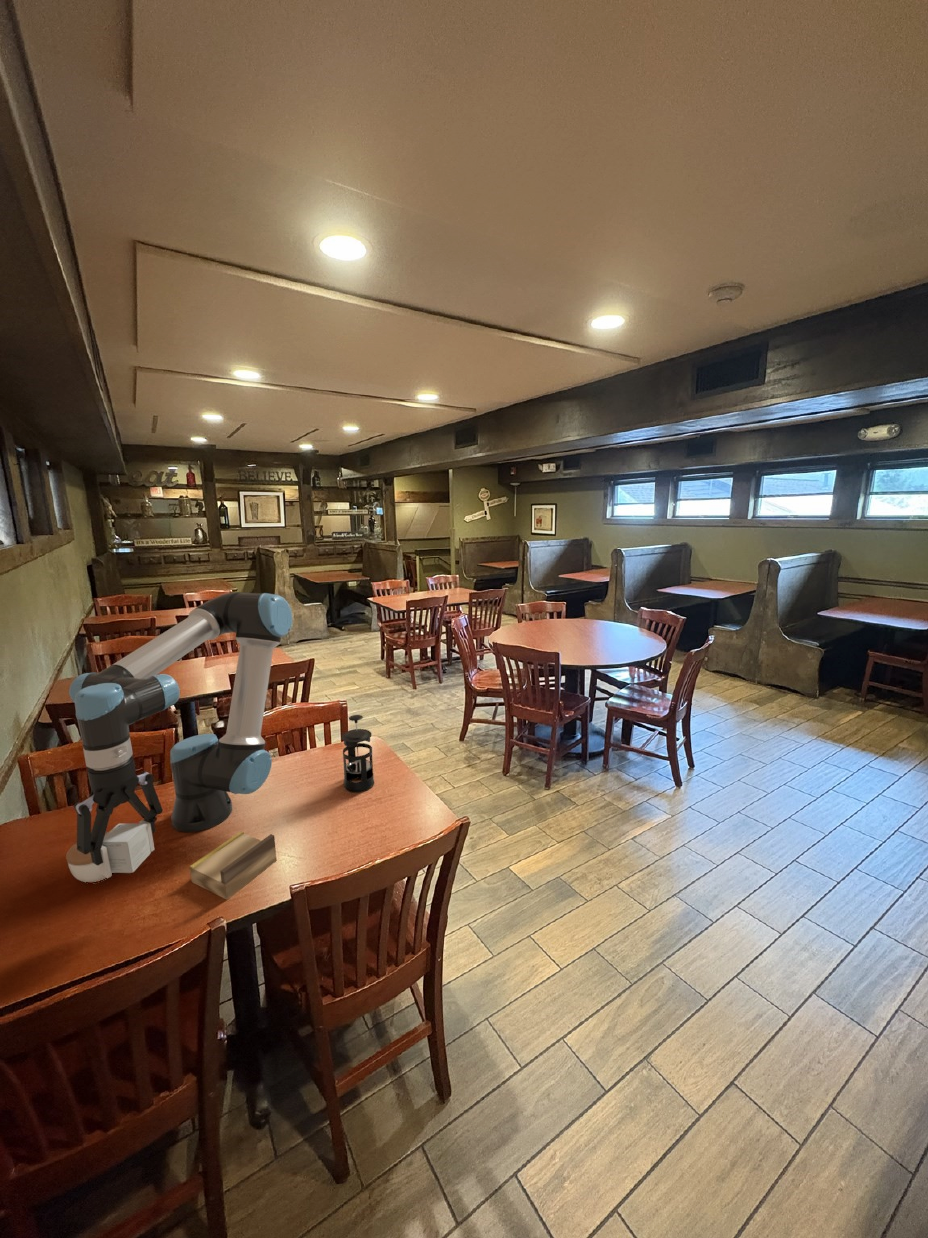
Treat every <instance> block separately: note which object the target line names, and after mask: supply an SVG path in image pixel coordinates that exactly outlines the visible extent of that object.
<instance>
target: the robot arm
mask: <svg viewBox="0 0 928 1238" xmlns="http://www.w3.org/2000/svg"><path fill="white" fill-rule="evenodd" d="M292 627H293V612H292V609H291V606H290V605H289V602H288V601H287V600H286V599H285V597H283V596H281V595H278V594H273V593H267V592H263V593H262V592H260V593H259V592H240V591H235V592H228V593H224V594H221V595H218V596H216V597H214V598H212V599H210V600H208V601H205V602H203V603H202V604H200V605H198V606H197V607H195V608H193V609H191V610H190V612H189V613H188V616H187V618H185V619H183V620H182V621H180V622H178V623H177V624H175V625H173V626H172V627H171V628H169V629H168V630H165V631H164V632H163V633H161V634H159V635H157V636H156V637H154V638H152V640H150V641H148V642H146V643H145V644H143V645H142V646H140V647H138V648H137V649H135V650H134V651H132V652H130V653H128V654H127V655H126V656H124V657H122V658H121V659H119V660H118V661H116V662H115V663H114V662H113V664H111V665H110V666H107V667H106V668H104V669H103V670H100V672H86V673H82V674H79V675H77V677H75V678H74V679H73V680H72V682H71V683H70V685H69V689H68V693H69V694H68V695H69V697H70V700H71V701H72V702H73V703H74V707H75V708H74V709H75V717H76V719H77V724H78V725H77V726H78V729H79V734H80V739H81V744H82V749H83V755H84V760H85V766H86V768H87V772H86V773H87V777H88V780H89V781H88V782H89V787H90V788H91V789H90V790H91V791H90V795H89V797H88V798H87V799H85V800H83V801H82V802H80V801H79V802H78V801H77V802H75V803H74V804H73V809H74V810H75V813H76V843H77V850H78V851H80V852H82V853H83V854H88V853H89V852H90V854H91V859H92V862H93V863H94V864H96V865H97V866H99V871H100V874H101V875H103V876H105V877H106V878H107V879H109V878H111V877H112V876H113V875H111V869H110V864H109V859H108V853H107V848H106V847H105V846H103V845H102V844H103V840H104V836H105V832H107V829H108V825H109V821H110V817H111V815H112V814H113V811H114V809H115V808H117V807H118V806H120V805H121V804H125V803H127V802H128V803H129V804H130V805H131V807H132V808H133V809H134V810H135V812H137V814H138V815H140V817H141V818H142V819H141V820H140V821H139V820H138V824H146V825H147V831H148V838H149V844H150V851H151V853H152V852H154V851H155V844H154V838H153V834H155V833H156V826H155V822H157V820H158V818H157V816H158V815H161V814H162V813H163V811H164V810H163V807H162V804H161V801H160V800H159V797H158V793H157V791H156V789H155V786H154V775H153V774H152V773H149V772H147V771H142V772H141V773H140V774H138V775H137V774H136V773H137V772H136V766H135V764H136V763H135V759H134V756H133V747H132V742H131V734H130V728H129V727H130V725H132V724H134V723H137V722H139V721H141V720H143V719H145V718H148V717H151V716H152V715H155V714H157V713H159V712H163V711H165V710H166V709H167V708H170V707H171V706H174V705H175V704H176V703H177V702H178V701H179V699H180V696H181V692H180V687H179V684H178V682H177V680H175V678H174V677H173V676H171V675H169V674H166V673H161V672H163V671H165V670H166V669H167V668H169V667H170V666H172V665H173V664H174V663H176V662H177V661H178V660H181V658H183V657H184V656H185V655H187V654H189V653H190V652H192V651H193V650H195V648H197V647H199V646H200V645H201V644H203V643H204V642H206V641H207V640H208V641H209V640H210V641H212V640H215V639H217V638H218V637H220V636H221V635H224V634H232V633H235V638H234V639H235V640H236V642H237V643H238V644H239V645H240V646H239V651H238V657H237V664H236V669H235V676H234V677H235V678H234V682H233V689H232V696H231V701H230V708H229V715H228V721H227V727H226V733H225V734H224V735H223V736H222V737H220V738H219V739H218V737H217V735H216V734H214V733H203V734H198V735H193V736H190V737H187V738H185V739H183V740H181V741H178V742H177V743H175V744H174V745H173V746H172V747H171V749H170V751H169V753H170V755H169V756H170V761H169V763H170V767H171V774H172V780H173V787H174V794H175V799H174V804H173V809H172V812H171V817H170V818H171V819H170V820H171V825H172V827H173V829H174V830H177V831H178V832H182V833H194V832H195V833H196V832H201V831H205V830H208V829H211V828H213V827H216V826H218V825H219V824H220V823H222V822H224V821H225V820H226V819H228V817H229V816H230V815H231V814H232V811H233V803H232V799H231V797H230V796H229V794H228V793H231V794H234V795H239V794H240V795H250V794H253V793H255V792H256V791H258V790H259V789H260V788H261V787H262V786H263V785H264V784H265V782H266V780H267V779H268V777H269V775H270V772H271V768H272V764H273V760H272V759H273V758H272V757H271V753H270V752H269V751H267V750H265V747H266V741H265V740H264V738H263V737H262V735H261V734H262V729H263V728H262V727H263V722H264V721H263V720H264V715H265V706H266V699H267V696H268V695H267V694H268V687H269V681H270V674H271V668H272V659H273V653H274V649H275V648H276V647H277V646H279V645H280V644H281V640H282V639H281V638H282V637H285V636H287V634H289V631H291V629H292ZM160 673H161V674H160ZM138 784H139V785H140V786H141V790H142V792H143V795H144V798H145V799H146V802H147V805H148V807H147V805H145V803H143V801H141V799H140V797H139V796H138V795H137V793H136V792H135V790H136V788H137V786H138ZM93 804H97V805H96V809H95V812H96V814H95V818H94V821H93V825H92V813H91V812H92V811H93Z"/></svg>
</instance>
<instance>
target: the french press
mask: <svg viewBox="0 0 928 1238" xmlns="http://www.w3.org/2000/svg"><path fill="white" fill-rule="evenodd" d="M363 718H364V717H363V716H362V714H354V715H351V716H349V717H348V720H349V721H351V722H354V724H355V729H350V730H347V731H345V732H344V733H343V734H342V735H341V738H342V739H341V740H343V744H344V748H343V750H342V758H343V759H342V760H343V762H342V763H343V775H344V777H343V778H344V784H343V788H344V790H346V791H348V792H350V793H353V794H354V793H355V794H357V793H364V792H367V791H369V790H371V789H372V788H373V787H374V786H375V779H374V765H373V764H374V763H373V747H372V746H371V745H370V744H368V743H370V742H371V737H372V735H373V734H372V732H371V731H370V730H368V729H364V728H358V722H359V721H360V720H362V719H363ZM364 742H368V743H364ZM359 748H366V749H368V751H369V752H367V753H365V754H363V755H359ZM346 752H347V754H346ZM356 752H357V754H356ZM368 758H369V760H368ZM347 760H348V762H347ZM357 779H361V781H355V782H354V781H353V780H357Z"/></svg>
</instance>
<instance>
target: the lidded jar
mask: <svg viewBox="0 0 928 1238" xmlns="http://www.w3.org/2000/svg"><path fill="white" fill-rule="evenodd" d="M109 832H110V831H106V832H105V835H107V834H108V833H109ZM65 859H66V861H67V862H66V863H67V864H68V868H69V872H70V873H71V875H72V876H73V877H74V878H75V879H76V880H78V881H81V882H84V883H86V882H96V881H100V880H103V879H105V878H106V877H105V876H103V875H101V874H100V871H99V866H97V865H96V864H94V863H93V862H92V859H91V854H90V852H89V853H88V854H83V853H82V852H80V851H78V850H77V842H75V844H73V845H72V846H71V847H70V848H69V849H68V850H67V852H66V855H65ZM112 873H114V874H115V872H111V875H112ZM112 876H113V875H112ZM105 880H106V879H105ZM103 881H104V880H103Z"/></svg>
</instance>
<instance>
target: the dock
mask: <svg viewBox="0 0 928 1238" xmlns="http://www.w3.org/2000/svg"><path fill="white" fill-rule="evenodd" d="M276 849H277V848H276V838H275V835H274V834H271V833H270V834H268V835H267V836H265V837H264V838H263V839H258V838H256V837H253V836H251V835H249V834H246V833H244V831H240V832H238V833H236V834H235V835H233V836H232V837H231V838H229V839H228V840H226V841H224V842H223V843H221V844H220V845H219V846H217V847H216V848H214V849H213V850H211V851H210V852H208V853H207V854H206V855H203V857H201V858H200V859H198V860H197V861H195V862H194V863H192V864H191V865H189V870H190V878H191V882H192V883H193V884H194V885H197V886H199V887H201V888H202V889H205V890H207V891H209V892H211V893H213V894H215V895H216V896H218V897H220V898H223V899H225V900H227V901H228V900H229V899H230V898H232V897H233V896H234V895H236V894H237V893H238V892H239V891H241V890H242V889H243V888H244V887H246V885H248V884H249V883H250V882H252V881H253V880H254V879H256V878H257V877H258V876H259V875H261V873H263V872H264V871H266V870H267V869H268V868H270V866H272V865H273V864H275V862H276V861H277V851H276Z"/></svg>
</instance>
